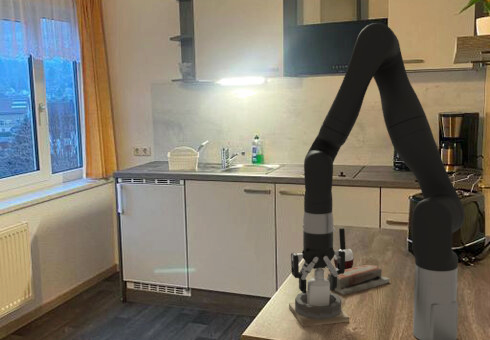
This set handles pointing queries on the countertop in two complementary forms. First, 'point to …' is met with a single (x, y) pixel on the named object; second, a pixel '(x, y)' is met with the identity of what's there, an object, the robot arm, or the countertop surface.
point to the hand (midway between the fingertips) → (318, 290)
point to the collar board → (318, 322)
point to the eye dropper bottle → (318, 289)
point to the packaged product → (359, 279)
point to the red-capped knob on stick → (348, 252)
